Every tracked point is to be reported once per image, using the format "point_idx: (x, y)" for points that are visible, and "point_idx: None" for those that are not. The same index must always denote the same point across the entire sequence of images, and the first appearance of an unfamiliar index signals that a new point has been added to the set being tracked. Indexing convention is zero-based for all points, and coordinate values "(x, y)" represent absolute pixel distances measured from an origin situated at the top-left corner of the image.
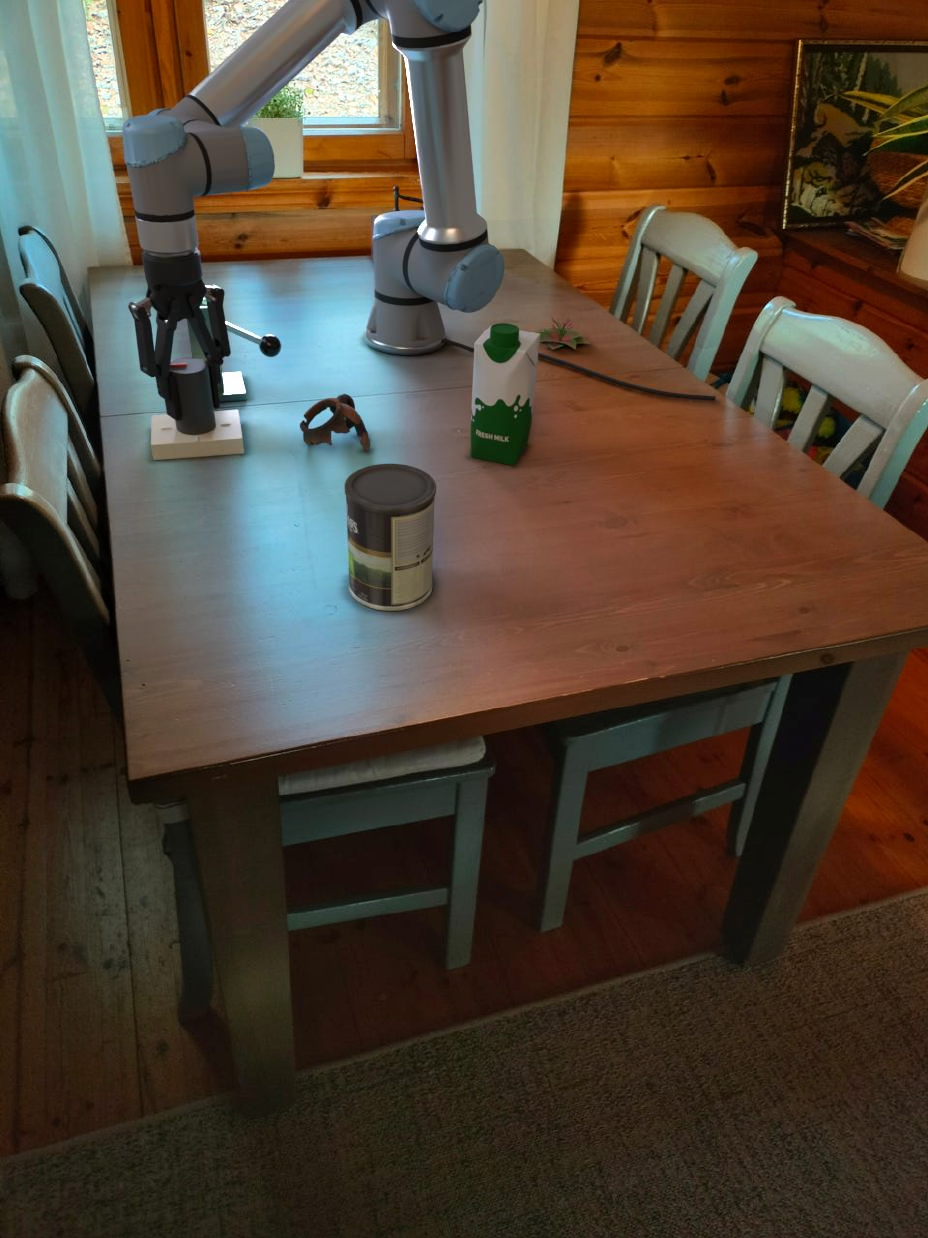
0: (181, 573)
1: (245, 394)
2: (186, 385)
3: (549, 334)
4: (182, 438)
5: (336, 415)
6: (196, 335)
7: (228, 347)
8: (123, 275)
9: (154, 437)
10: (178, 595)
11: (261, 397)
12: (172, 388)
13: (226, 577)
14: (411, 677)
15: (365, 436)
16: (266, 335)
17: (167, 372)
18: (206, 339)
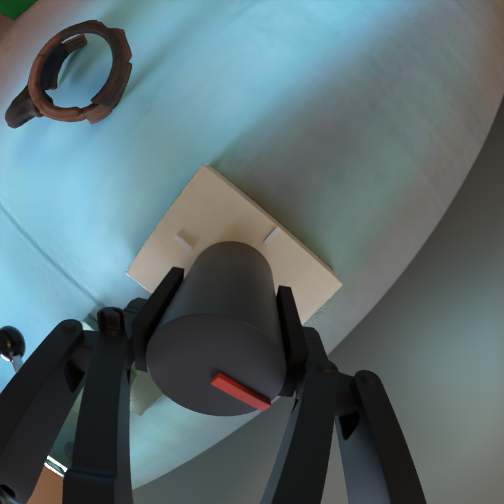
0: (470, 44)
1: (84, 319)
2: (268, 312)
3: None
4: (288, 260)
5: (76, 24)
6: (128, 438)
7: (55, 334)
8: None
9: (317, 302)
10: (481, 34)
11: (69, 302)
12: (301, 331)
13: (442, 3)
14: None
15: (70, 39)
16: (3, 356)
17: (315, 370)
18: (108, 400)
